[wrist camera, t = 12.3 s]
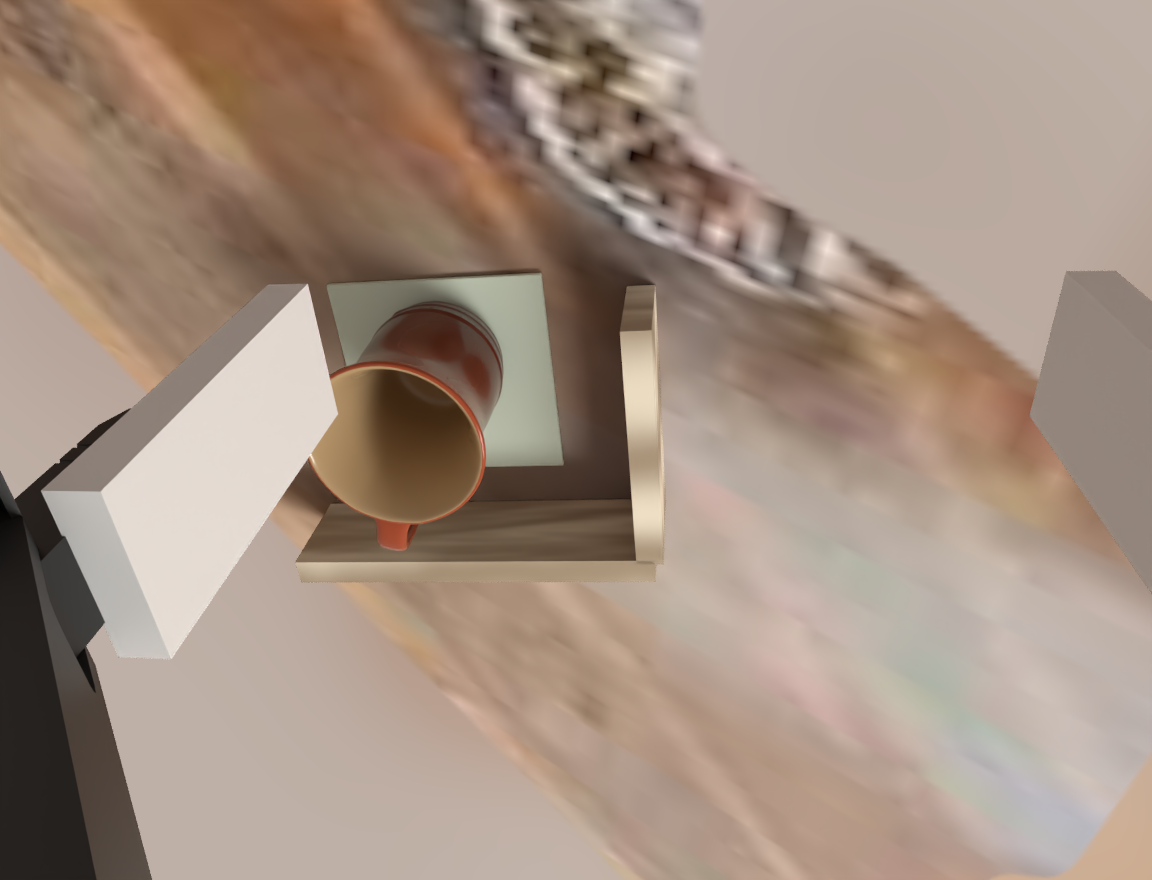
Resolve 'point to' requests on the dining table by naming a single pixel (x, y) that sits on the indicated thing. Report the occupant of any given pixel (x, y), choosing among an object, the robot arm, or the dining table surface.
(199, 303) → the dining table surface
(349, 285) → the pad
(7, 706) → the robot arm
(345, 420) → the mug
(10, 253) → the dining table surface
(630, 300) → the side wall
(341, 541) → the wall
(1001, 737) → the dining table surface
